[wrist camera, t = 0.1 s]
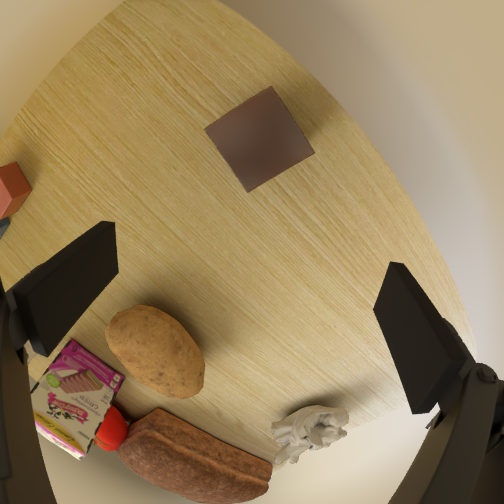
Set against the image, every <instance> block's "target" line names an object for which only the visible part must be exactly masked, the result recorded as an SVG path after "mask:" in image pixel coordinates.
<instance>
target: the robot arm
mask: <svg viewBox="0 0 504 504" xmlns="http://www.w3.org/2000/svg"><path fill="white" fill-rule="evenodd" d="M118 273H119V270H118V260H117V247H116V232H115V222H108V221H101V222H99V223H98V224H96V225H95V226H94V227H92V228H91V229H89V230H88V231H87V232H85V233H84V234H82V235H81V236H80V237H78V238H77V239H75V240H74V241H73V242H71V243H70V244H69V245H67V246H66V247H65V248H63V249H62V250H61V251H59V252H58V253H57V254H55V255H54V256H53V257H51V258H50V259H49V260H48V261H46V262H45V263H43V264H40V265H38V266H37V267H35V268H34V269H33V270H32V271H30V273H28V274H27V275H26V276H24V278H22V279H21V280H19V281H18V282H17V283H16V284H15V285H14V286H12V287H11V288H10V289H9V290H8V291H7V292H5V291H4V288H3V284H2V281H1V277H0V504H57V502H56V499H55V496H54V493H53V490H52V487H51V484H50V481H49V478H48V475H47V471H46V467H45V464H44V460H43V456H42V452H41V448H40V444H39V439H38V435H37V430H36V425H35V419H34V413H33V407H32V400H31V393H30V385H29V376H28V364H27V352H26V349H25V346H24V345H25V344H26V342H27V341H28V340H29V341H30V344H31V346H32V349H33V351H34V352H36V353H38V354H40V355H43V356H45V357H49V355H50V354H51V353H52V351H53V350H54V349H55V348H56V346H57V345H58V344H59V343H60V341H61V340H62V339H63V337H64V336H65V335H66V334H67V332H68V331H69V330H70V329H71V328H72V326H73V325H74V324H75V323H76V321H77V320H78V319H79V318H80V317H81V315H82V314H83V313H84V312H85V311H86V309H87V308H88V307H89V306H90V305H91V304H92V302H93V301H94V300H95V299H96V298H97V297H98V295H99V294H100V293H101V292H102V291H103V290H104V289H105V287H106V286H107V285H108V284H109V283H110V282H111V281H112V280H113V278H114V277H115V276H116V275H117V274H118ZM373 311H374V313H375V316H376V318H377V320H378V323H379V325H380V328H381V330H382V333H383V335H384V338H385V340H386V343H387V345H388V348H389V350H390V353H391V355H392V358H393V361H394V363H395V366H396V369H397V371H398V374H399V377H400V380H401V382H402V385H403V388H404V391H405V394H406V397H407V400H408V402H409V405H410V408H411V411H412V414H423V413H429V412H430V411H431V410H432V408H433V407H434V406H435V405H436V403H437V402H438V405H439V407H440V411H439V412H438V413H437V415H436V416H435V417H434V418H433V419H432V420H431V422H430V423H429V424H428V425H427V426H426V428H427V429H428V428H429V427H430V426H431V427H430V429H429V431H428V433H427V436H426V438H425V440H424V442H423V444H422V446H421V448H420V450H419V452H418V454H417V455H416V457H415V459H414V461H413V463H412V465H411V467H410V468H409V470H408V472H407V474H406V476H405V477H404V479H403V480H402V482H401V484H400V485H399V487H398V489H397V490H396V492H395V493H394V495H393V496H392V498H391V500H390V501H389V503H388V504H504V381H503V380H499V379H498V377H497V374H496V373H495V372H494V370H493V369H492V368H490V367H489V366H487V365H485V364H483V363H476V362H475V360H474V358H473V357H472V355H471V353H470V352H469V350H468V349H467V347H466V345H465V344H464V342H462V339H461V337H460V336H458V333H457V331H456V330H455V328H454V327H453V325H451V324H450V323H449V322H448V321H447V320H446V319H445V318H442V317H441V315H440V314H439V312H438V311H437V309H436V308H435V306H434V305H433V303H432V302H431V300H430V299H429V298H428V296H427V295H426V293H425V292H424V290H423V289H422V288H421V286H420V285H419V284H418V282H417V281H416V279H415V278H414V277H413V275H412V274H411V273H410V271H409V270H408V269H407V267H406V266H405V265H404V263H397V262H391V261H390V263H389V266H388V269H387V272H386V275H385V278H384V281H383V284H382V286H381V289H380V292H379V295H378V298H377V300H376V303H375V306H374V308H373Z"/></svg>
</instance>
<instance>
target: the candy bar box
mask: <svg viewBox="0 0 504 504" xmlns="http://www.w3.org/2000/svg"><path fill="white" fill-rule="evenodd" d="M124 379H125V377H124V376H123V375H121V374H120V373H118V372H117V371H115V370H114V369H112V368H111V367H109V366H108V365H107V364H105V363H104V362H102V361H101V360H99V359H98V358H97V357H95V356H94V355H93V354H91V353H90V352H89V351H87V350H86V349H85V348H83V347H82V346H81V345H80V344H78V343H77V342H76V341H74V340H73V339H72V338H71V339H70V340H69V341H68V343H67V344H66V345H65V346H64V348H63V349H62V350H61V351H60V353H59V354H58V355H57V357H56V358H55V359H54V361H53V362H52V363H51V364H50V366H49V367H48V368H47V370H46V371H45V372H44V374H43V375H42V377H41V378H40V379H39V381H38V382H37V383H36V385H35V386H34V388H33V389H32V390H31V392H30V393H31V400H32V407H33V413H34V419H35V425H36V430H37V431H38V432H39V433H40V434H42V435H43V436H44V437H46V438H47V439H49V440H50V441H51V442H53V443H54V444H56V445H57V446H58V447H60V448H61V449H63V450H64V451H66V452H67V453H69V454H70V455H72V456H74V457H75V458H77V459H79V460H81V459H82V458H83V457H84V456H85V455H86V454H87V453H88V451H89V449H90V447H91V444H92V442H93V440H94V438H95V436H96V434H97V432H98V430H99V428H100V426H101V424H102V422H103V420H104V418H105V416H106V414H107V412H108V410H109V408H110V406H111V404H112V402H113V400H114V398H115V396H116V394H117V392H118V390H119V389H120V387H121V385H122V383H123V381H124Z"/></svg>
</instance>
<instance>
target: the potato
mask: <svg viewBox="0 0 504 504" xmlns="http://www.w3.org/2000/svg"><path fill="white" fill-rule="evenodd" d="M104 336H105V338H106V341H107V343H108V346H109V349H110V350H111V351H112V352H113V354H114V355H115V356H116V357H117V358H118V360H119V361H120V362H121V363H122V364H123V365H124V366H125V368H126V369H127V370H128V371H129V373H130V374H131V375H132V376H133V377H134V378H136V379H137V380H138V381H140V382H141V383H143V384H145V385H147V386H149V387H151V388H153V389H154V390H156V391H158V392H159V393H161V394H163V395H166V396H168V397H173V398H180V399H185V398H189V397H191V396H193V395H195V394H198V393H199V392H200V390H201V389H202V388H203V383H204V371H205V363H204V360H203V356H202V353H201V352H200V350H199V348H198V347H197V345H196V343H195V342H194V340H193V339H192V338H191V336H190V335H189V334H188V332H187V331H186V330H185V329H184V328H183V326H182V325H181V324H180V323H179V322H178V321H177V320H175V319H174V318H172V317H171V316H169V315H168V314H166V313H165V312H163V311H161V310H159V309H157V308H155V307H151V306H146V305H136V306H134V307H132V308H130V309H128V310H125V311H121V312H118V313H117V314H116V315H115V316H114V317H113V318H112V320H111V321H110V323H109V324H108V326H107V327H106V330H105V334H104Z"/></svg>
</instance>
